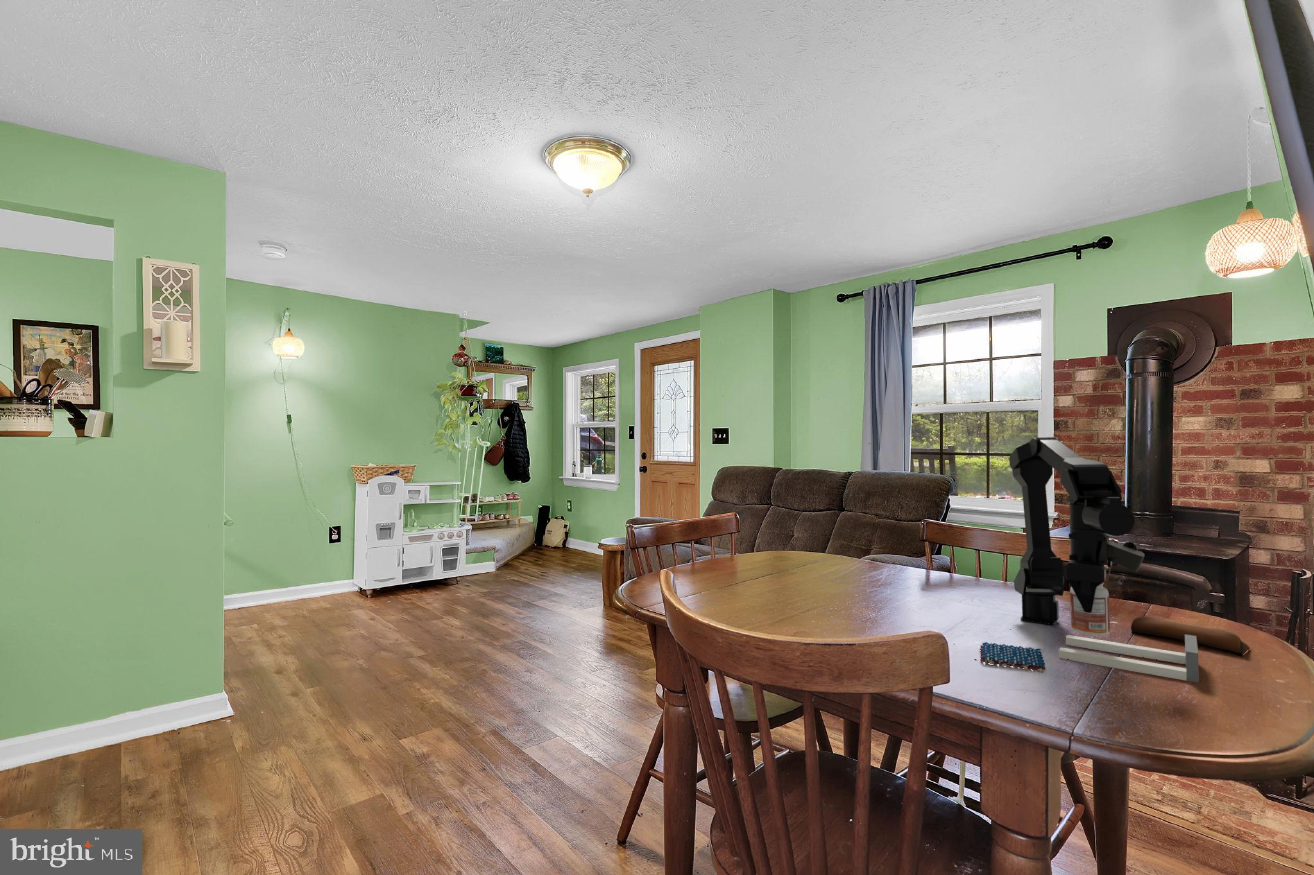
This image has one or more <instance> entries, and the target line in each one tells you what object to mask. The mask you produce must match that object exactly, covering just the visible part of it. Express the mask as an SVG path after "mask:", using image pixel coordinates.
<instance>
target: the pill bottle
mask: <svg viewBox="0 0 1314 875" xmlns="http://www.w3.org/2000/svg"><path fill="white" fill-rule="evenodd" d="M1104 583H1105V582H1104ZM1104 583H1102V584H1100V585H1099V586H1097V588H1096V593H1095V598H1094V603H1093V608H1092V612H1091V613H1087V612H1084V610H1083V608H1082V606H1081V604H1080V602H1079V600H1078V598H1077V596H1076V594H1075V592H1074V590H1073V588H1072V587H1071V586H1070V588H1069V589H1070V590H1069V593H1070V594H1069V596H1070V598H1069V599H1070V600H1069V601H1070V627H1071V629H1072V631H1073V632H1075V633H1077V634H1080V635H1085V636H1092V637H1105V636H1108V635H1109V634H1110V633H1111V622H1110V621H1111V620H1110V615H1111V614H1110V595H1109V594H1110V593H1109V590H1108V589H1107V588H1106V587H1105V586H1103V585H1104Z"/></svg>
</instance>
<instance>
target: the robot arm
mask: <svg viewBox="0 0 1314 875" xmlns="http://www.w3.org/2000/svg"><path fill="white" fill-rule="evenodd" d="M1008 459H1009V460H1008V461H1009V466H1010V468H1011V471H1012V472H1011V473H1012V477H1013V478H1014V480H1016V482H1017V483H1018V485H1020V487H1021V491H1022V504H1023V514H1024V516H1023V517H1024V526H1025V527H1024V528H1025V538H1026V551H1025V552H1024V554H1023V556H1022V558H1021V559H1020V561H1019V562H1020V563H1019V564H1020V565H1019V567H1020V568H1019V570H1018V572H1017V573H1016V576H1015V578H1014V580H1013V585H1014V587H1013V588H1014V591H1016V592H1017V593H1018V594H1020V595H1021V615H1022V616H1021V617H1020V621H1024V622H1030V623H1037V624H1044V625H1050V626H1054V625H1055V624H1056V622H1058V620H1059V619H1060V616H1059V615H1060V614H1059V613H1060V611H1059V609H1060V608H1059V601H1058V600H1057V599H1056V596H1060V597H1061V596H1062V597H1063V596H1064V592H1065V585H1066V580H1068V583H1069V585H1070V588H1071V587H1072V588H1073V590H1074V592H1075V594H1076V596H1077V598H1078V600H1079V602H1080V604H1081V606H1082V608H1083V610H1084V612H1087V613H1091V612H1092V608H1093V603H1094V598H1095V593H1096V588H1097V586H1099V585H1100V584H1102V583H1105V581H1106V580H1107V575H1108V574H1109V573H1110V571H1111V568H1110V567H1112V566H1113V564H1116V565H1118V566H1120V567H1124V568H1126V569H1127V570H1129V571H1132V572H1135V573H1137V572H1138V571H1139V569H1140V566H1141V565H1142V563H1143V560H1144V558H1145V553H1144V552H1143V551H1140V550H1139V549H1138V544H1137V543H1135V542H1134V541H1130V540H1126V541H1125V542H1124V543H1122V544H1121V543H1118V542H1117V543H1116V542H1114V541H1110V536H1115V537H1119V536H1124V535H1127V534H1128V533H1130V532H1131V531H1132V529H1133V528H1134V526H1135V523H1136V522H1135V520H1136V519H1135V516H1134V514H1133V512H1132V510H1131V509H1130V508H1129V507H1127V505H1126V506H1125V505H1124V504H1123V503H1122V500H1123V496H1122V488H1120V486H1119V484H1118V483H1117V481H1116V479H1115V476H1114V475H1113V472H1112V470H1111V469H1110V468H1109V466H1107V464H1105V463H1103V462H1101V461H1098V460H1094V459H1088V458H1083V457H1082V456H1080V455H1078V454H1077V453H1076V452H1074V451H1073V450H1072V449H1070V448H1069V447H1068V446H1067V445H1065V444H1063V442H1061V440H1060V438H1059V437H1056V436H1036V437H1032V438H1031V439H1030V440H1029V442H1027V443H1024V444H1021V445H1019V446H1018V447H1015V449H1014V450H1013V451H1012V452H1011V453H1010V455H1009V458H1008ZM1053 469H1054V470H1055V471H1056V472H1057V473H1059V474H1060V479H1059V482H1060V484H1061V486H1063V488H1064V489H1065V490H1066V492H1067V494H1068V496H1067V497H1066V499H1065V501H1066V503H1069V505H1068V506H1069V533H1068V539H1069V540H1070V541H1069V542H1070V544H1069V545H1070V553H1069V554H1068V559H1069V560H1068V562H1066V563H1065V565H1064V566H1063V560H1062V558H1061V557H1059V556H1057V555H1056V553H1055V552H1054V550H1053V549H1052V542H1051V540H1052V538H1051V527H1050V520H1049V519H1050V518H1049V506H1048V498H1047V487H1046V486H1047V484H1048V483H1049V481H1050V479H1051V478H1052V476H1053V473H1054V472H1053ZM1104 565H1106V566H1107V567H1108V568H1107V567H1105V566H1104ZM1102 585H1103V584H1102Z"/></svg>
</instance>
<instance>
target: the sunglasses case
mask: <svg viewBox="0 0 1314 875" xmlns="http://www.w3.org/2000/svg"><path fill="white" fill-rule="evenodd" d="M1130 631H1131V633H1133V634H1134V633H1136V634H1137V633H1138V634H1144V635H1151V636H1159V637H1167V638H1171V639H1175V640H1178V641H1179V640H1180V641H1184V642H1185V635H1192V636H1196V638H1197V645H1198V644H1199V645H1202V646H1207V647H1212V648H1217V649H1221V650H1225V651H1226V650H1227V651H1231V652H1234V653H1239V654H1240V655H1241V654H1242V655H1243V654H1244V653H1245V652H1246V651H1247V650H1249V649H1250V647H1251V646H1250V645H1249V644H1247V643H1246V642H1244V641H1243V640H1241V637H1240V636H1238V635H1237V633H1236V634H1235V633H1232V632H1231V631H1229V630H1225V629H1223V628H1220V627H1214V626H1203V625H1197V624H1196V625H1195V624H1190V623H1184V622H1179V621H1176V620H1174V619H1169V618H1165V617H1158V616H1138V617H1135V618H1134V619H1133V620H1132V622H1131V626H1130ZM1249 646H1250V647H1249ZM1242 655H1241V656H1242ZM1243 656H1244V655H1243Z"/></svg>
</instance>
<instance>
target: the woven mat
mask: <svg viewBox="0 0 1314 875" xmlns="http://www.w3.org/2000/svg"><path fill="white" fill-rule="evenodd" d="M980 650H981V651H980ZM1041 650H1042V649H1041V648H1039V647H1038V648H1035V647H1033V648H1032V647H1031V646H1029V647H1027V646H1025V647H1023V646H1022V645H1020V646H1018V645H1016V646H1014V645H1012V644H1011V645H1009V644H1007V645H1006V644H1004V643H1003V644H1001V643H1000V644H997V643H995V642H994V643H992V642H990V643H989V642H987V641H985V642H982V643H981V645H980V648H979V653H980V652H981V653H980V658H981V659H980V658H979V660H980V662H982V661H983V662H985V663H986V664H988V663H990V664H993V663H994V664H1000V665H1001V666H1002V667H1003V666H1008V665H1009V666H1013V667H1014V668H1017V667H1020V669H1022V668H1024V669H1023V670H1024V671H1029V670H1031V669H1032V670H1033V669H1034V670H1038V672H1039V673H1043V672H1044V671H1045V670H1046V665H1045V664H1046V663H1045V659H1044V656H1043V654H1042V653H1043V652H1042V651H1041ZM1009 666H1008V667H1009ZM1028 669H1029V670H1028Z"/></svg>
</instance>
